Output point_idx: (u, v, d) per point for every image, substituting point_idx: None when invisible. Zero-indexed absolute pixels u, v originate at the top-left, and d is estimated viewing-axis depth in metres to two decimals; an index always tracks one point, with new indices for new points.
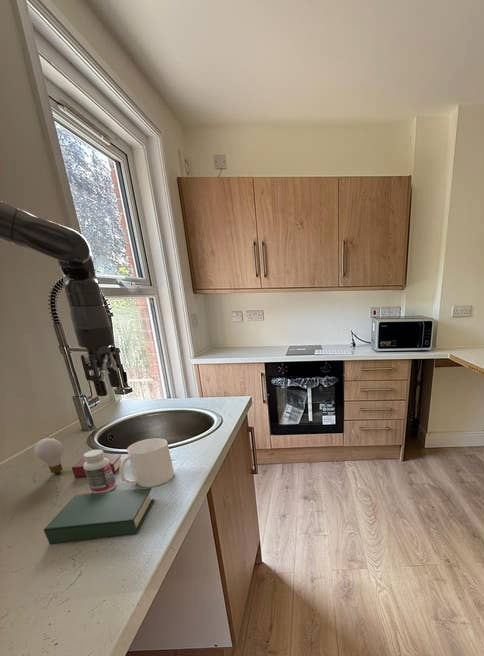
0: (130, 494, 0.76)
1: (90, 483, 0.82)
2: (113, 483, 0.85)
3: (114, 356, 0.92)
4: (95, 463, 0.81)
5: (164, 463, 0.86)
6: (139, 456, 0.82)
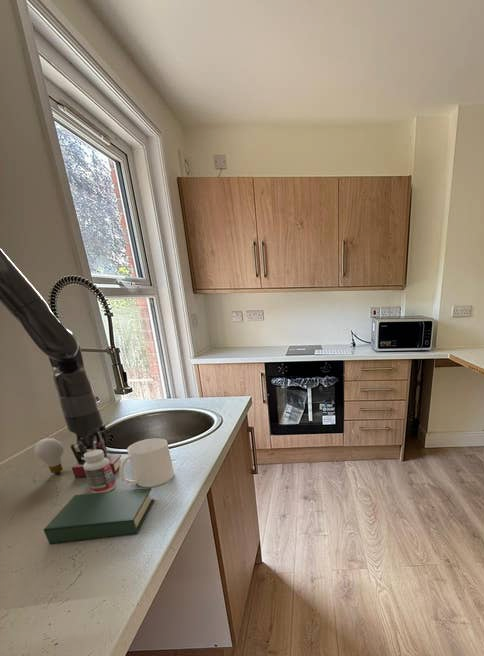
0: (130, 494, 0.76)
1: (90, 483, 0.82)
2: (113, 483, 0.85)
3: (103, 434, 0.96)
4: (95, 463, 0.81)
5: (164, 463, 0.86)
6: (139, 456, 0.82)
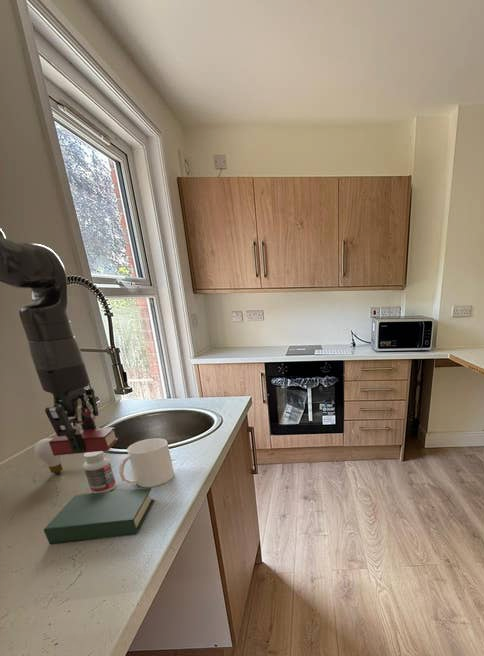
0: (130, 494, 0.76)
1: (90, 483, 0.82)
2: (113, 483, 0.85)
3: (91, 400, 0.73)
4: (95, 463, 0.81)
5: (164, 463, 0.86)
6: (139, 456, 0.82)
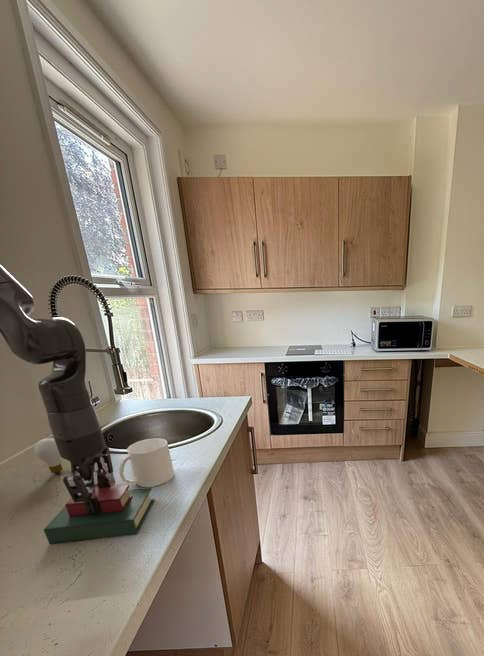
0: (130, 494, 0.76)
1: None
2: (113, 483, 0.85)
3: (106, 459, 0.74)
4: None
5: (164, 463, 0.86)
6: (139, 456, 0.82)
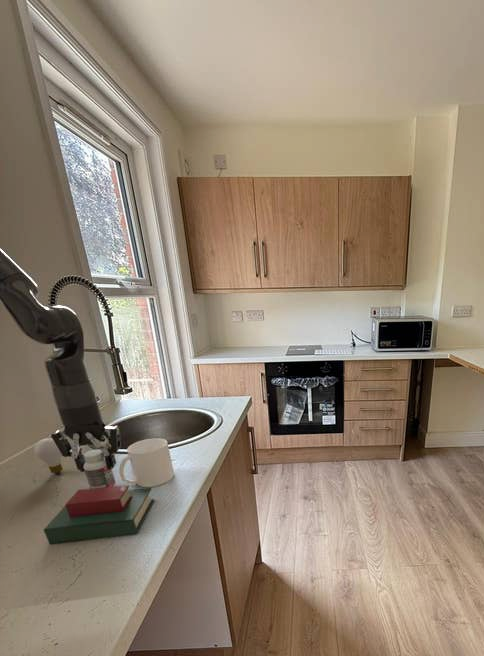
0: (130, 494, 0.76)
1: (90, 483, 0.82)
2: (113, 483, 0.85)
3: None
4: (95, 463, 0.81)
5: (164, 463, 0.86)
6: (139, 456, 0.82)
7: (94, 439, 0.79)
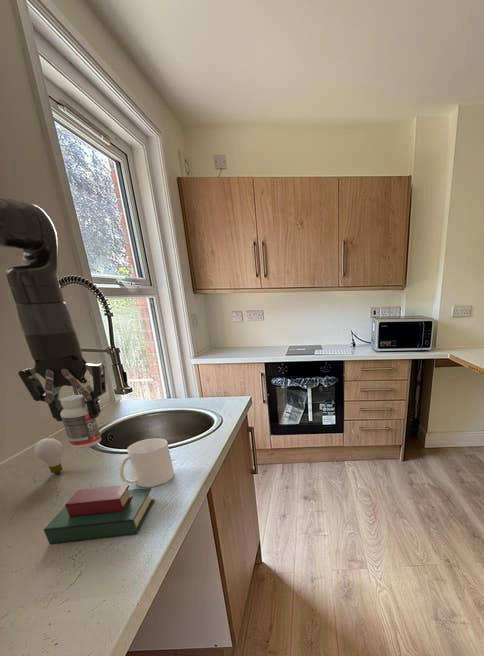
0: (130, 494, 0.76)
1: (69, 435, 0.68)
2: (98, 436, 0.70)
3: None
4: (75, 409, 0.66)
5: (164, 463, 0.86)
6: (139, 456, 0.82)
7: (72, 378, 0.64)
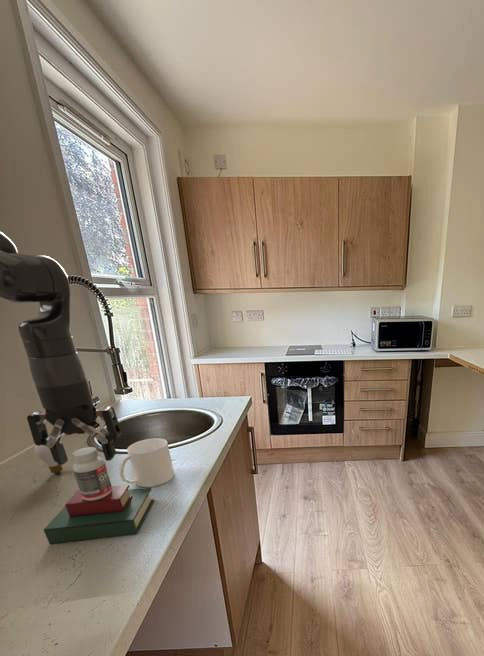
0: (130, 494, 0.76)
1: (81, 488, 0.68)
2: (109, 488, 0.71)
3: None
4: (87, 464, 0.67)
5: (164, 463, 0.86)
6: (139, 456, 0.82)
7: (83, 427, 0.64)
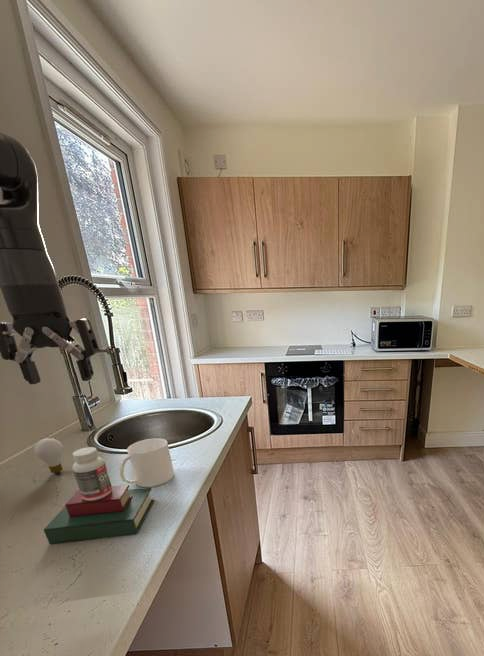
0: (130, 494, 0.76)
1: (81, 488, 0.68)
2: (109, 488, 0.71)
3: None
4: (87, 464, 0.67)
5: (164, 463, 0.86)
6: (139, 456, 0.82)
7: (55, 338, 0.58)
